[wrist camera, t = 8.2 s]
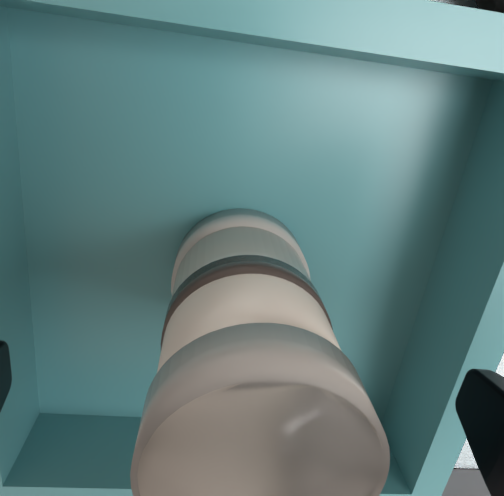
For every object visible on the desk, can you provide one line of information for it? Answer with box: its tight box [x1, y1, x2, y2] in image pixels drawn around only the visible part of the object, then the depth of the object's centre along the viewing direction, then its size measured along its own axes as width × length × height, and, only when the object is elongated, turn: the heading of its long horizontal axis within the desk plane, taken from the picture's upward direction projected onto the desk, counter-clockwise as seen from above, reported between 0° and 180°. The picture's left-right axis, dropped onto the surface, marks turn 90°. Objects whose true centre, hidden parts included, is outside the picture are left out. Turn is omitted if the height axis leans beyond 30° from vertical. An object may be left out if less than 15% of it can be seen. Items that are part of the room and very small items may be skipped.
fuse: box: [130, 208, 390, 496], centre depth 9 cm, size 4×4×7 cm
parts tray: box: [0, 0, 504, 496], centre depth 12 cm, size 14×14×4 cm
